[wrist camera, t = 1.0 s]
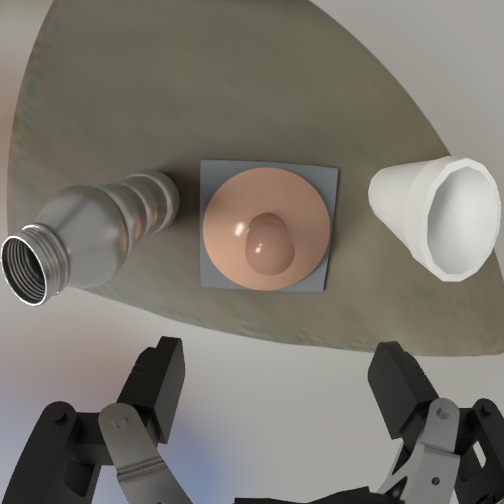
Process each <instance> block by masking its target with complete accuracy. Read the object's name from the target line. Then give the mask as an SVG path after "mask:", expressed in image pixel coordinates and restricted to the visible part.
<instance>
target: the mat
mask: <svg viewBox="0 0 504 504" xmlns="http://www.w3.org/2000/svg"><path fill="white" fill-rule="evenodd" d="M260 167H272V168H279V169H283V170H287V171H289V172H292V173H294V174H296V175H298V176H300V177H301V178H303V179H304V180H306V181H307V182H308V183H309V184H311V185H312V186H313V188H314V189H315V190H316V191H317V192H318V194H319V195H320V196H321V198H322V200H323V202H324V204H325V206H326V209H327V212H328V216H329V222H330V235H329V241H328V245H327V248H326V251H325V253H324V255H323V257H322V259H321V261H320V262H319V264H318V265H317V266H316V267H315V269H314V270H313V271H312V272H311V273H310V274H308V275H307V276H306V277H305V278H303V279H302V280H300V281H299V282H297V283H295V284H293V285H290V286H288V287H285V288H281V289H276V290H270V291H301V292H323V287H324V281H325V275H326V269H327V262H328V256H329V249H330V241H331V234H332V226H333V218H334V209H335V199H336V189H337V178H338V168H330V167H321V166H311V165H300V164H288V163H274V162H257V161H230V160H201V161H200V271H201V287H210V288H227V289H247V290H255V289H251V288H247V287H244V286H241V285H239V284H237V283H235V282H233V281H231V280H230V279H228V278H227V277H226V276H225V275H223V274H222V273H221V272H220V271H219V270H218V269H217V267H216V266H215V265H214V263H213V262H212V260H211V259H210V257H209V255H208V253H207V250H206V247H205V243H204V239H203V220H204V215H205V212H206V209H207V206H208V204H209V202H210V200H211V198H212V197H213V195H214V194H215V193H216V191H217V190H218V189H219V188H220V187H221V186H222V185H223V184H224V183H225V182H226V181H228V180H229V179H230V178H232V177H234V176H235V175H237V174H239V173H241V172H244V171H246V170H250V169H253V168H260Z"/></svg>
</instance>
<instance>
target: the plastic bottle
mask: <svg viewBox="0 0 504 504" xmlns="http://www.w3.org/2000/svg"><path fill="white" fill-rule="evenodd" d="M179 204H180V197H179V192H178V189H177V187H176V185H175V183H174V182H173V181H172V180H171V179H170V178H169V177H168V176H166V175H165V174H163V173H160V172H157V171H154V170H140V171H137V172H134V173H132V174H131V175H129V176H127V177H126V178H124V179H123V180H121V181H119V182H116V183H112V184H106V185H76V186H70V187H66V188H64V189H62V190H60V191H58V192H57V193H56V194H55V195H54V196H53V197H52V198H50V199H49V200H48V201H47V202H46V204H45V205H44V206H43V208H42V210H41V212H40V214H39V216H38V218H37V220H36V222H35V223H31V224H29V225H27V226H25V227H23V228H22V229H21V230H20V231H18V232H16V233H13V234H11V235H10V236H8V237H7V238H6V239H5V240H4V242H3V244H2V247H1V252H0V261H1V267H2V271H3V274H4V277H5V279H6V281H7V283H8V285H9V287H10V288H11V290H12V291H13V292H14V294H15V295H16V296H17V297H18V298H19V299H20V300H21V301H22V302H24V303H26V304H28V305H30V306H39V305H41V304H43V303H45V302H46V301H47V300H49V299H50V298H51V297H52V296H55V295H57V294H59V293H60V292H61V291H63V290H64V289H65V288H66V286H68V287H74V288H84V289H87V288H92V287H95V286H98V285H101V284H103V283H105V282H107V281H109V280H110V279H111V278H112V277H113V276H114V275H115V274H116V273H117V272H118V271H119V269H120V268H121V266H122V265H123V264H124V262H125V260H126V259H127V257H128V256H129V254H130V253H131V251H132V250H133V248H134V247H135V246H136V245H137V244H138V243H139V242H140V241H141V240H142V239H144V238H145V237H147V236H149V235H152V234H155V233H158V232H160V231H162V230H164V229H165V228H167V227H168V226H169V225H170V224H171V223H172V222H173V220H174V218H175V217H176V214H177V212H178V209H179Z"/></svg>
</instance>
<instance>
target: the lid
mask: <svg viewBox="0 0 504 504" xmlns="http://www.w3.org/2000/svg"><path fill="white" fill-rule="evenodd" d="M329 235H330V222H329V216H328V212H327V209H326V206H325V204H324V202H323V200H322V198H321V196H320V195H319V194H318V192H317V191H316V190H315V189H314V188H313V186H312V185H311V184H309V183H308V182H307V181H306V180H304V179H303V178H301V177H300V176H298V175H296V174H294V173H292V172H289V171H287V170H283V169H279V168H272V167H260V168H253V169H250V170H246V171H244V172H241V173H239V174H237V175H235V176H234V177H232V178H230V179H229V180H228V181H226V182H225V183H224V184H223V185H222V186H221V187H220V188H219V189H218V190H217V191H216V193H215V194H214V195H213V197H212V198H211V200H210V202H209V204H208V206H207V209H206V212H205V215H204V220H203V239H204V243H205V247H206V250H207V253H208V255H209V257H210V259H211V260H212V262H213V263H214V265H215V266H216V267H217V269H218V270H219V271H220V272H221V273H222V274H223V275H225V276H226V277H227V278H228V279H230V280H231V281H233V282H235V283H237V284H239V285H241V286H244V287H247V288H251V289H255V290H276V289H281V288H285V287H288V286H290V285H293V284H295V283H297V282H299V281H300V280H302V279H303V278H305V277H306V276H307V275H308V274H310V273H311V272H312V271H313V270H314V269H315V267H316V266H317V265H318V264H319V262H320V261H321V259H322V257H323V255H324V253H325V251H326V248H327V245H328V241H329Z"/></svg>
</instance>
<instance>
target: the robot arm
mask: <svg viewBox="0 0 504 504" xmlns="http://www.w3.org/2000/svg"><path fill="white" fill-rule="evenodd" d="M184 377H185V362H184V354H183V346H182V340H181V339H180V338H174V337H165V336H162V337H161V339H160V341H159V343H158V345H157V347H156V348H153V347H148V348H147V349H146V350H144V351H143V352H142V353H141V354H140V355H139V357H138V359H137V361H136V363H135V366H134V367H133V369H132V371H131V373H130V375H129V377H128V379H127V381H126V383H125V385H124V387H123V389H122V391H121V393H120V396H119V398H118V400H117V402H116V403H113V404H110V405H108V406H106V407H105V408H103V409H102V410H101V412H99V413H82V412H81V413H80V412H76V411H75V409H74V408H73V407H72V406H71V405H70V404H69V403H66V402H62V401H57V402H53V403H51V404H49V405H48V406H47V407H46V408H45V409H44V410H43V412H42V414H41V416H40V418H39V420H38V421H37V423H36V426H35V427H34V429H33V431H32V433H31V435H30V437H29V439H28V441H27V443H26V445H25V448H24V450H23V452H22V454H21V456H20V458H19V461H18V463H17V465H16V467H15V470H14V472H13V475H12V477H11V479H10V482H9V485H8V487H7V490H6V493H5V495H4V498H3V501H2V504H91V503H92V498H93V495H94V491H95V487H96V484H97V480H98V477H99V473H100V470H101V466H102V465H115V468H116V470H117V473H118V474H117V479H118V482H119V484H120V486H121V488H122V490H123V493H124V494H125V496H126V498H127V500H128V502H129V504H193V503H192V502H191V500H190V499H189V498H188V496H187V495H186V493H185V492H184V490H183V489H182V488H181V486H180V485H179V483H178V482H177V480H176V479H175V477H174V476H173V474H172V472H171V471H170V469H169V468H168V466H167V465H166V463H165V462H164V461H163V459H162V458H161V456H160V454H159V452H158V451H157V445H158V443H163V444H167V442H168V439H169V435H170V431H171V427H172V423H173V419H174V416H175V412H176V408H177V404H178V401H179V397H180V393H181V390H182V386H183V382H184ZM368 382H369V384H370V387H371V389H372V391H373V394H374V396H375V399H376V401H377V404H378V406H379V408H380V411H381V413H382V416H383V418H384V421H385V423H386V426H387V429H388V431H389V434H390V436H391V439H392V440H393V439H397V438H401V437H402V439H403V442H402V443H401V445H400V448H399V450H398V452H397V455H396V457H395V460H394V462H393V465H392V467H391V469H390V471H389V474H388V476H387V478H386V480H385V482H384V483H383V484H382V485H381V487H380V488H379V490H378V491H377V492H376V493H372V492H370V491H369V487H368V486H366V487H362V488H357V489H353V490H347V491H341V492H338V493H335V494H332V495H329V496H327V497H324V498H321V499H318V500H315V501H312V502H309V503H296V502H288V501H282V500H276V499H271V498H235V503H234V504H449V502H450V498H451V496H452V492H453V488H454V489H455V492H456V495H457V499H458V502H459V504H504V418H503V416H502V415H501V413H500V411H499V410H498V408H497V406H496V405H495V404H494V403H493V402H492V401H491V400H489V399H485V398H482V399H479V400H478V401H476V403H475V404H474V405H473V407H472V408H458V407H457V405H456V404H455V403H454V402H452V401H451V400H449V399H445V398H439V396H438V394H437V393H436V391H435V389H434V388H433V386H432V385H431V383H430V381H429V380H428V378H427V376H426V375H424V372H423V370H422V369H421V368H420V365H419V364H418V362H417V361H416V359H415V358H414V357H413V356H411V355H410V354H409V353H408V352H404V351H403V349H402V347H401V346H400V344H399V343H398V342H397V341H392V342H381V343H379V344H378V346H377V349H376V351H375V354H374V357H373V359H372V362H371V364H370V367H369V370H368ZM477 441H479V444H480V446H481V448H482V450H483V452H484V455H485V457H486V462H485V465H484V467H483V468H482V467H481V465H480V463H479V460H478V458H477V456H476V454H475V451H474V449H473V445H474V444H475V443H476V442H477Z"/></svg>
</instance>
